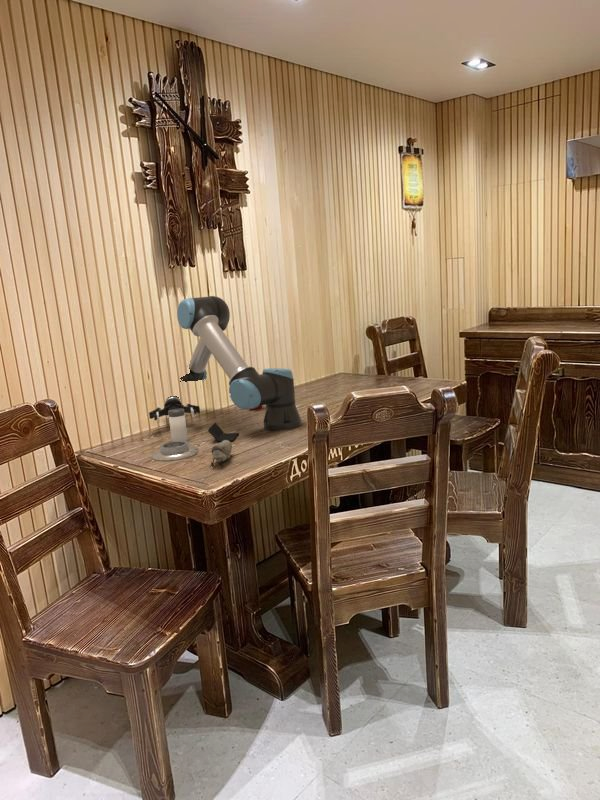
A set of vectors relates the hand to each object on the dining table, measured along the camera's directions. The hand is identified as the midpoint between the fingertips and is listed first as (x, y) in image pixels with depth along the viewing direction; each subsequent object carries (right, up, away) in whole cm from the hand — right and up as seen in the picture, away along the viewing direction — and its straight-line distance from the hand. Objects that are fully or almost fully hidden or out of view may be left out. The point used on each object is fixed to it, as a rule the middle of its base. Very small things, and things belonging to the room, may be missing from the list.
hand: (175, 416), depth 237 cm
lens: (+3, -9, -8) cm, 12 cm away
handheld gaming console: (+21, -9, -11) cm, 25 cm away
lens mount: (+5, -13, -26) cm, 30 cm away
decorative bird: (+24, -14, -40) cm, 49 cm away
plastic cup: (+29, +2, +38) cm, 48 cm away
